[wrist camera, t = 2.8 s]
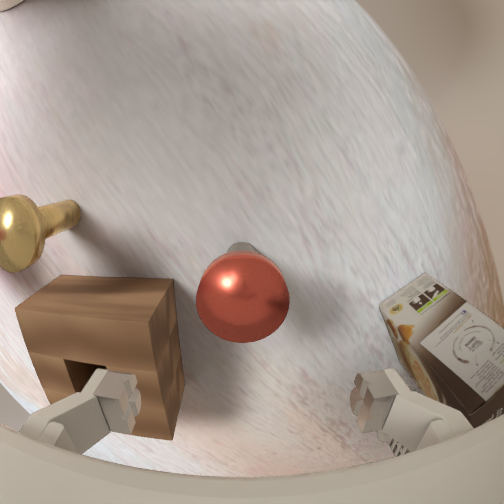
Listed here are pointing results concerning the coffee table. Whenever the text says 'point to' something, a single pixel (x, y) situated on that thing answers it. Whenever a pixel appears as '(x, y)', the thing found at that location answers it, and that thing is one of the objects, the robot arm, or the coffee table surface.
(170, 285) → the hitch block
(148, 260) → the coffee table surface
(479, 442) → the robot arm
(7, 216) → the brass pin
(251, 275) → the red round-headed grey cylinder
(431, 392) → the coffee box
